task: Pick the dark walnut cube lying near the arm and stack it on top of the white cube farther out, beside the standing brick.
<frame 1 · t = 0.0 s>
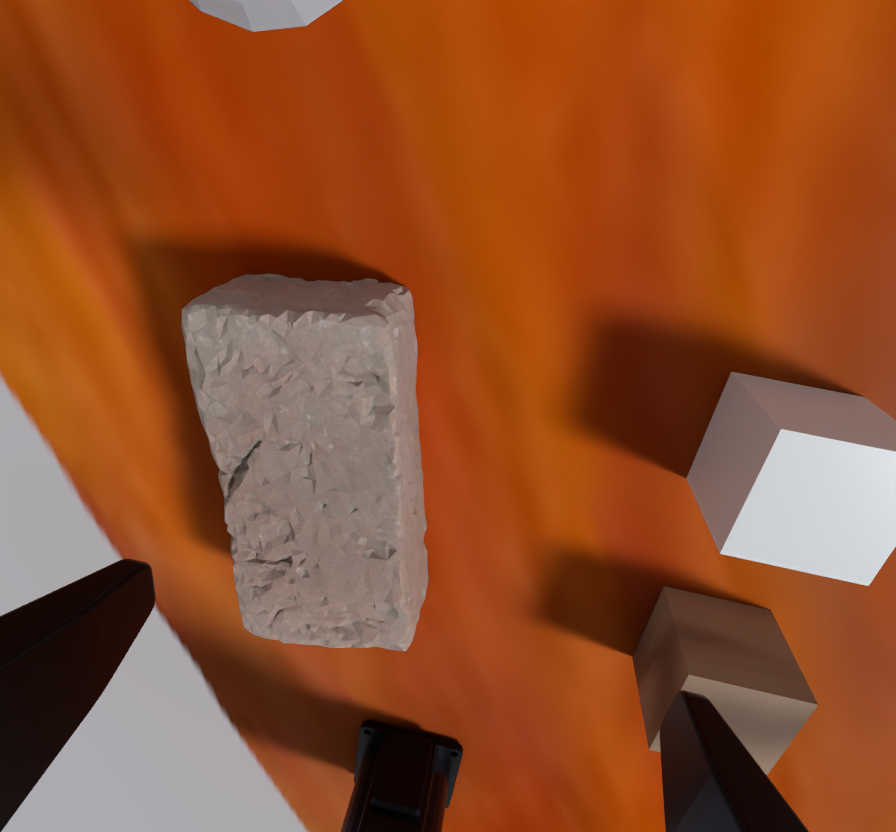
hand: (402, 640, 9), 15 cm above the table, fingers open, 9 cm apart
white cube: (769, 439, 22), on the table
walnut cube: (697, 633, 27), on the table
brick: (340, 447, 26), on the table
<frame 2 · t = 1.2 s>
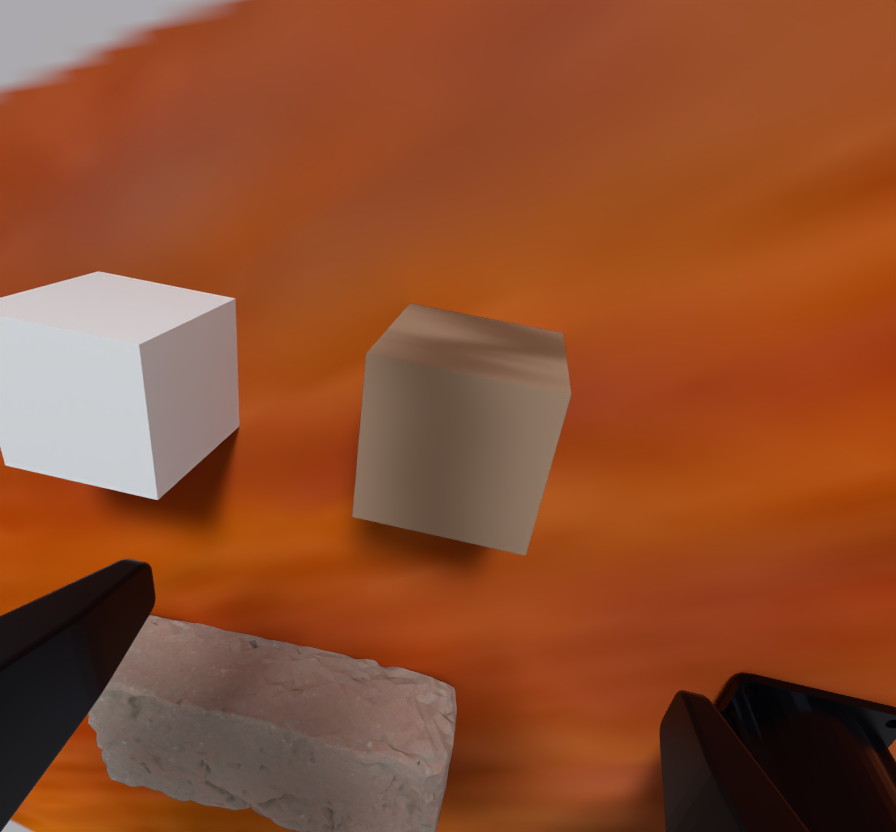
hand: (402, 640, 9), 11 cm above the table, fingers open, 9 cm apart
white cube: (173, 351, 20), on the table
walnut cube: (472, 387, 18), on the table
brick: (297, 689, 28), on the table
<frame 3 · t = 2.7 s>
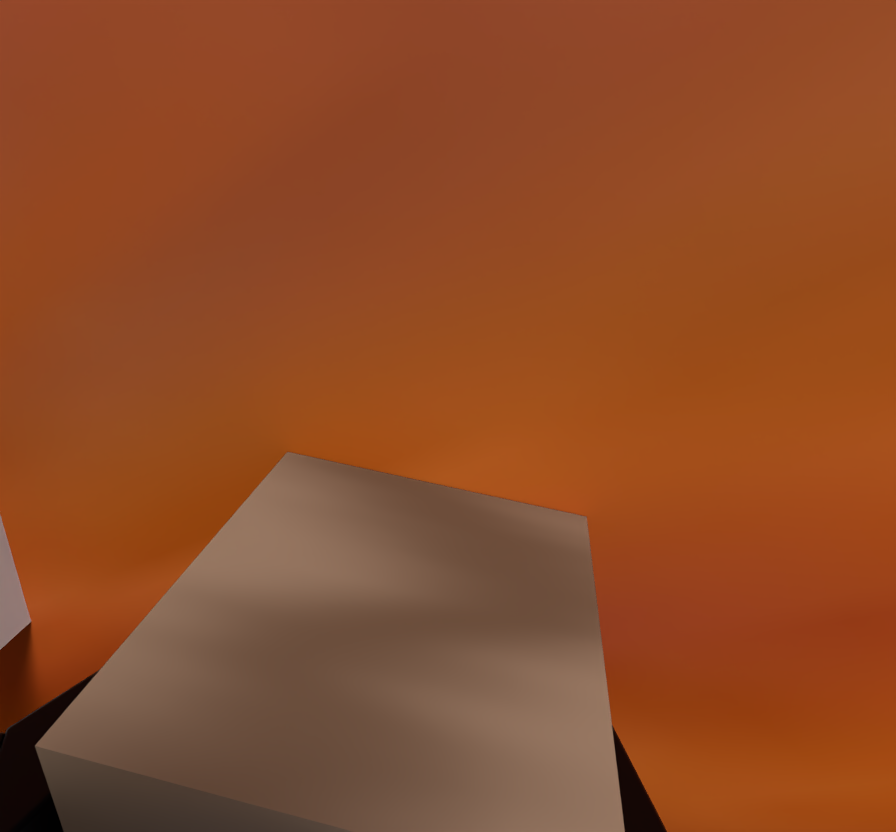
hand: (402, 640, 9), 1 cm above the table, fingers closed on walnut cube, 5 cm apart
walnut cube: (415, 595, 10), on the table, touching gripper
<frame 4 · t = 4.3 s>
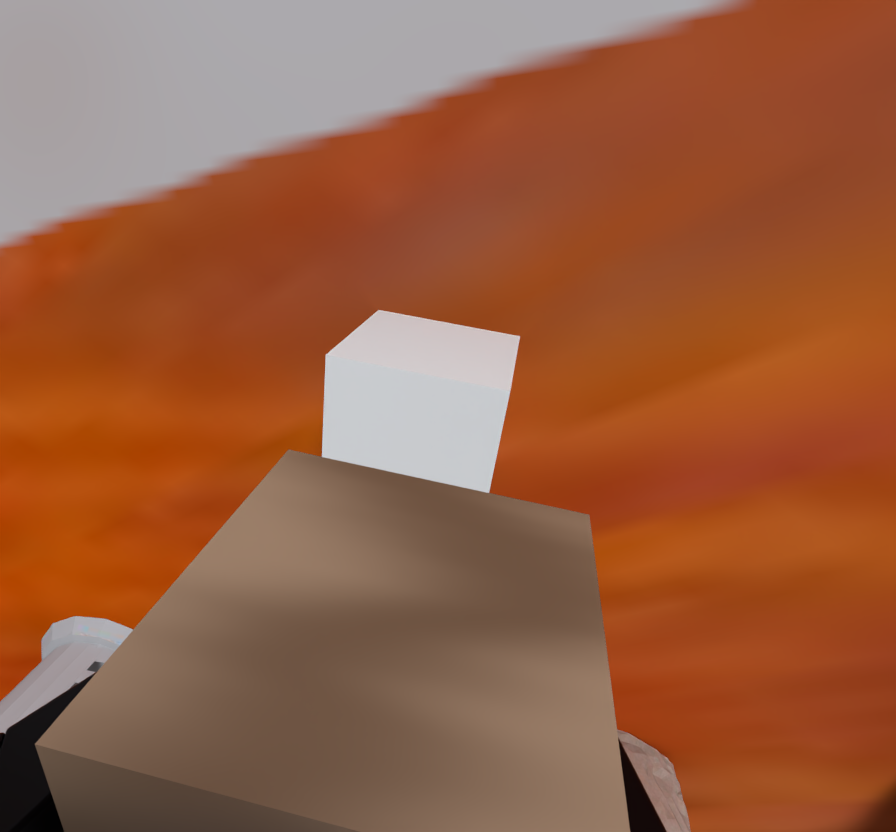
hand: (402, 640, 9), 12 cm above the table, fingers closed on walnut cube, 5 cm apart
french press: (129, 688, 31), on the table
white cube: (439, 387, 20), on the table
walnut cube: (417, 593, 10), point 10 cm above the table, touching gripper
brick: (489, 718, 28), on the table
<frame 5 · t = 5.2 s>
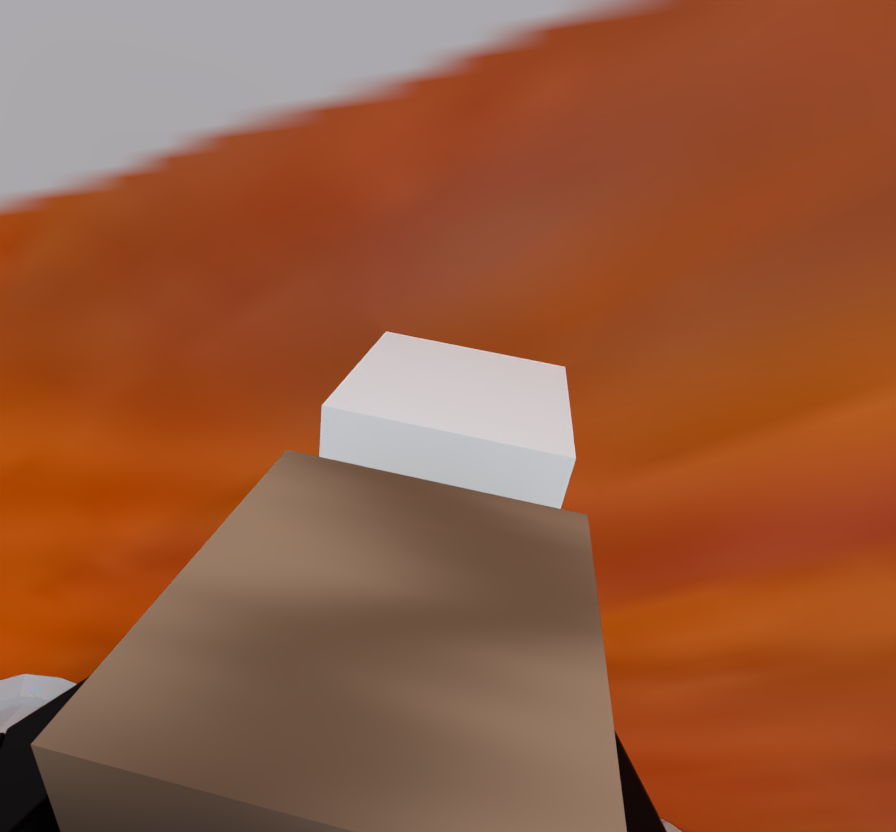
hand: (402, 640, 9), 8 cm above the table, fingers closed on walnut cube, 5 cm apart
french press: (91, 749, 27), on the table
white cube: (460, 427, 16), on the table
walnut cube: (415, 593, 10), point 7 cm above the table, touching gripper
when the fingers open (6 cm above the table, at t = 5.9 s): walnut cube stays where it is, resting on white cube.
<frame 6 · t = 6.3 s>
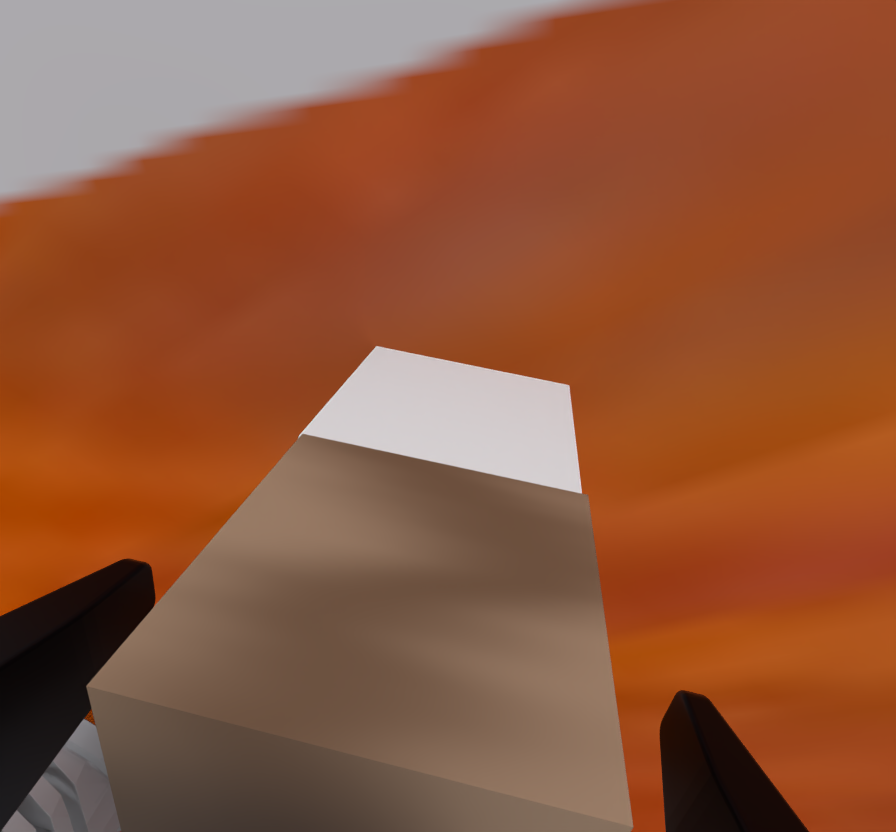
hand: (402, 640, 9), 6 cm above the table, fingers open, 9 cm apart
french press: (74, 774, 26), on the table
white cube: (456, 448, 15), on the table, touching walnut cube
walnut cube: (423, 572, 10), point 5 cm above the table, touching white cube
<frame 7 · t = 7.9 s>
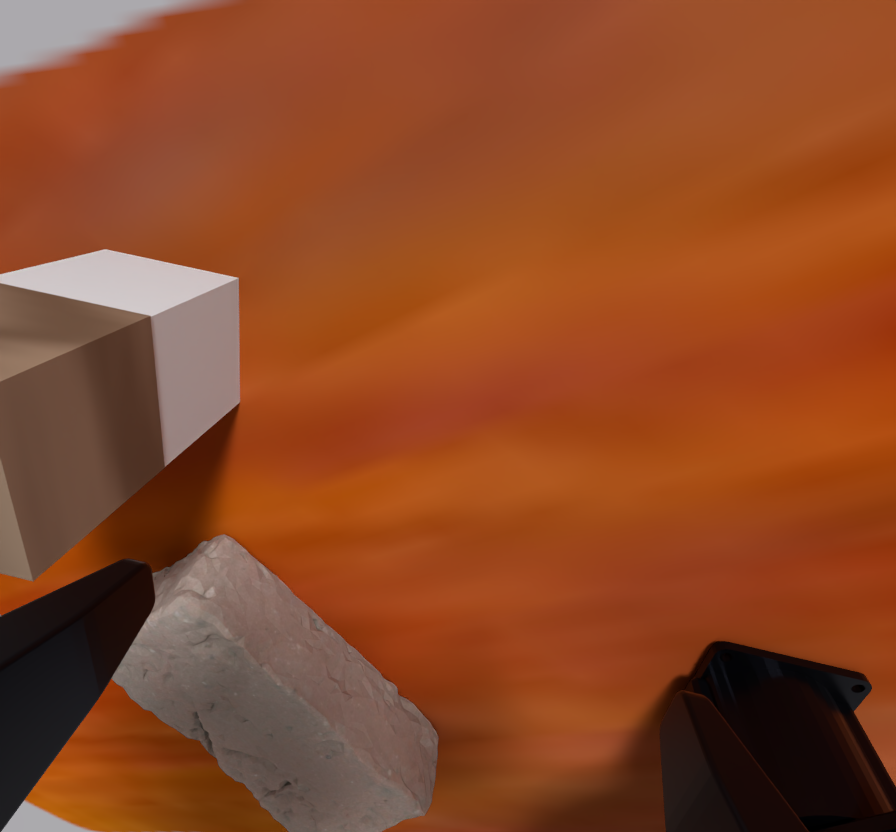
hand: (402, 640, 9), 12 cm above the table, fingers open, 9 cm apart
white cube: (176, 329, 20), on the table, touching walnut cube
walnut cube: (78, 379, 16), point 5 cm above the table, touching white cube
brick: (293, 657, 29), on the table
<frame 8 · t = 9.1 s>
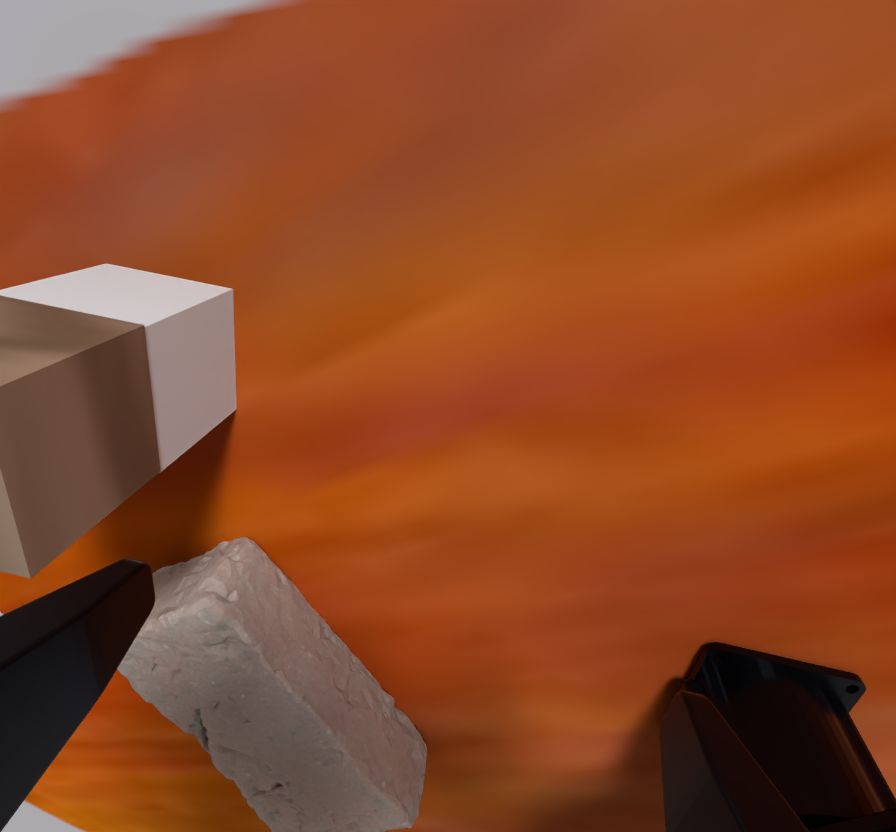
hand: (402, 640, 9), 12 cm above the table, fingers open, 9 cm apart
white cube: (174, 339, 21), on the table, touching walnut cube
walnut cube: (77, 386, 17), point 5 cm above the table, touching white cube
brick: (294, 660, 29), on the table
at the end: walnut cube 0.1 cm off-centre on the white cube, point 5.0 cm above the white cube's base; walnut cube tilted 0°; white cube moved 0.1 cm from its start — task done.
